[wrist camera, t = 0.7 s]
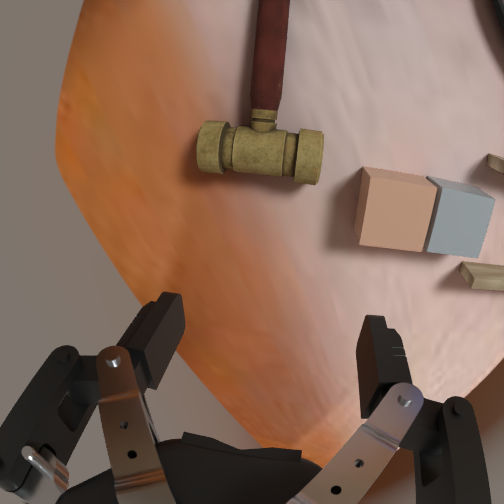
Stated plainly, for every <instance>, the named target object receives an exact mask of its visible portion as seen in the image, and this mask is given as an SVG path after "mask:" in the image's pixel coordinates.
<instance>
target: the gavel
mask: <svg viewBox="0 0 504 504" xmlns="http://www.w3.org/2000/svg"><path fill="white" fill-rule="evenodd" d="M289 5H290V0H259V9H258V19H257V29H256V39H255V50H254V61H253V72H252V83H251V94H250V95H251V106H252V112H251V117H252V118H253V121H250V127H245V126H239V127H238V128H234V127H230V124H229V122H225V121H205V122H204V123H203V125H202V126H201V128H200V130H199V133H198V137H197V143H196V160H197V165H198V167H199V169H200V171H201V172H206V173H217V174H224V173H225V171H226V169H233V170H234V171H235V172H244V173H253V174H262V175H271V176H279V177H282V176H283V175H286V176H293V177H294V182H296V183H303V184H310V185H316V184H317V183H318V180H319V176H320V171H321V164H322V156H323V145H324V135H323V133H322V132H321V131H314V130H307V129H300V132H299V134H295V133H288V132H287V131H286V130H277V129H276V125H277V123H275V120H277V111H278V107H279V104H280V100H281V96H282V85H283V74H284V63H285V52H286V41H287V29H288V17H289Z"/></svg>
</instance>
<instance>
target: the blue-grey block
mask: <svg viewBox="0 0 504 504" xmlns="http://www.w3.org/2000/svg"><path fill="white" fill-rule="evenodd" d="M427 180H428V181H429V182H431V183H432V184H433V185H434V186H436V187H437V192H436V196H435V201H434V206H433V210H432V214H431V219H430V223H429V227H428V231H427V234H426V238H425V242H424V246H423V247H424V248H425V250H426V251H427V252H432V253H440V254H448V255H456V256H463V257H471V258H478V256H479V253H480V250H481V247H482V244H483V241H484V238H485V235H486V232H487V228H488V225H489V221H490V218H491V214H492V210H493V207H494V203H495V199H494V198H493V197H491V196H490V195H488V194H487V193H485V192H484V191H483V190H481V189H480V188H478V187H476V186H471V185H467V184H463V183H458V182H454V181H449V180H445V179H440V178H435V177H430V176H427Z"/></svg>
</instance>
